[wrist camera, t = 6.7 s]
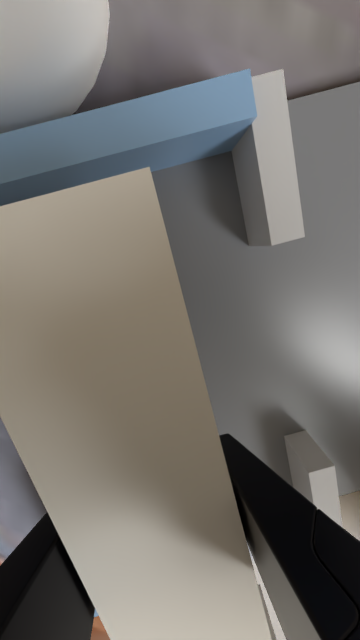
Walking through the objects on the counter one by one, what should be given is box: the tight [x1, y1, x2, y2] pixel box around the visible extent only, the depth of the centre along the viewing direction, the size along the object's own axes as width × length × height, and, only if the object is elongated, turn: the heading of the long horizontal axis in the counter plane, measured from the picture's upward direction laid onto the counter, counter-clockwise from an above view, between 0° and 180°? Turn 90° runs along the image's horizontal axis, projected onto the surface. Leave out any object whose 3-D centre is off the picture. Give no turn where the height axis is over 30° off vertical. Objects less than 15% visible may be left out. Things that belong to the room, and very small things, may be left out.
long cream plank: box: [0, 167, 276, 640], centre depth 7 cm, size 16×4×3 cm, turn 15°
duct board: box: [0, 69, 360, 617], centre depth 12 cm, size 20×27×4 cm
